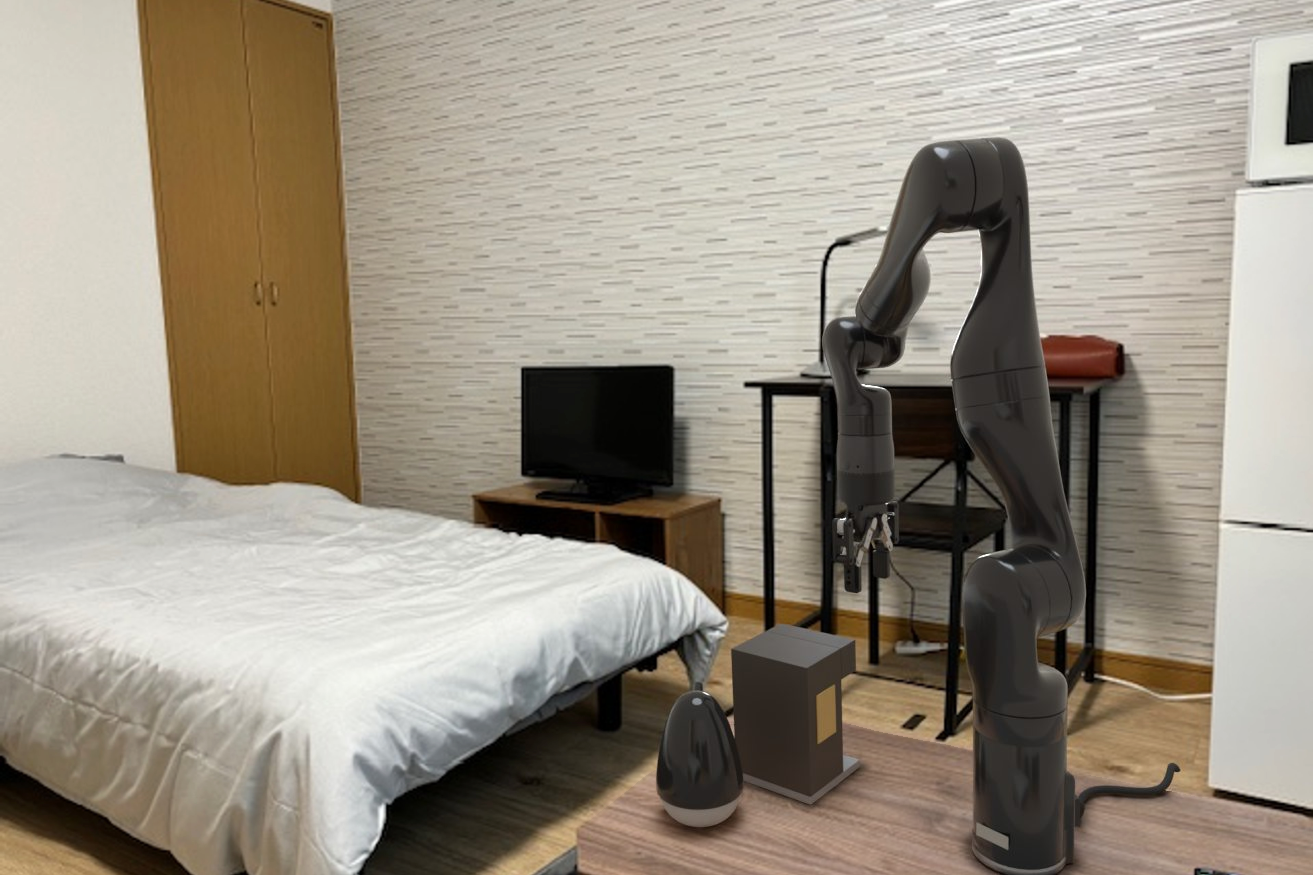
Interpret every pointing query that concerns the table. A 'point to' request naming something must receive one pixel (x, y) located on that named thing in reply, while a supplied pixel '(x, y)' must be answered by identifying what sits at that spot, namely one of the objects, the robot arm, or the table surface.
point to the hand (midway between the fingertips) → (867, 584)
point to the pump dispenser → (698, 762)
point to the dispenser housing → (792, 710)
